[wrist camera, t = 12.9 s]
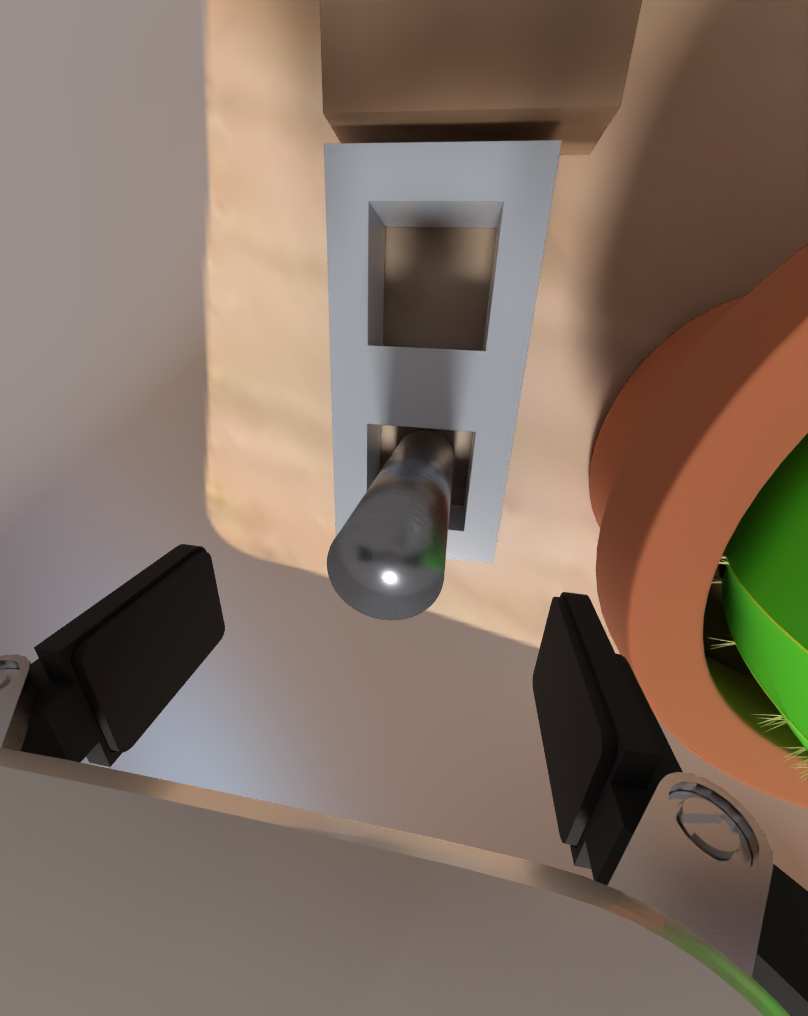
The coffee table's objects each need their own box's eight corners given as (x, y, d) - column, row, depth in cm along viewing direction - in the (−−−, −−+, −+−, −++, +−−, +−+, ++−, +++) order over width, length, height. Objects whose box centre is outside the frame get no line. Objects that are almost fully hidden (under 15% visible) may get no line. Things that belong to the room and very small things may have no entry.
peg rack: (349, 180, 20) (324, 143, 16) (543, 180, 19) (561, 140, 15) (352, 520, 28) (336, 545, 24) (489, 534, 27) (493, 563, 23)
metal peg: (396, 427, 25) (324, 512, 12) (457, 432, 24) (449, 525, 12) (394, 484, 26) (328, 612, 14) (451, 490, 26) (439, 627, 13)
